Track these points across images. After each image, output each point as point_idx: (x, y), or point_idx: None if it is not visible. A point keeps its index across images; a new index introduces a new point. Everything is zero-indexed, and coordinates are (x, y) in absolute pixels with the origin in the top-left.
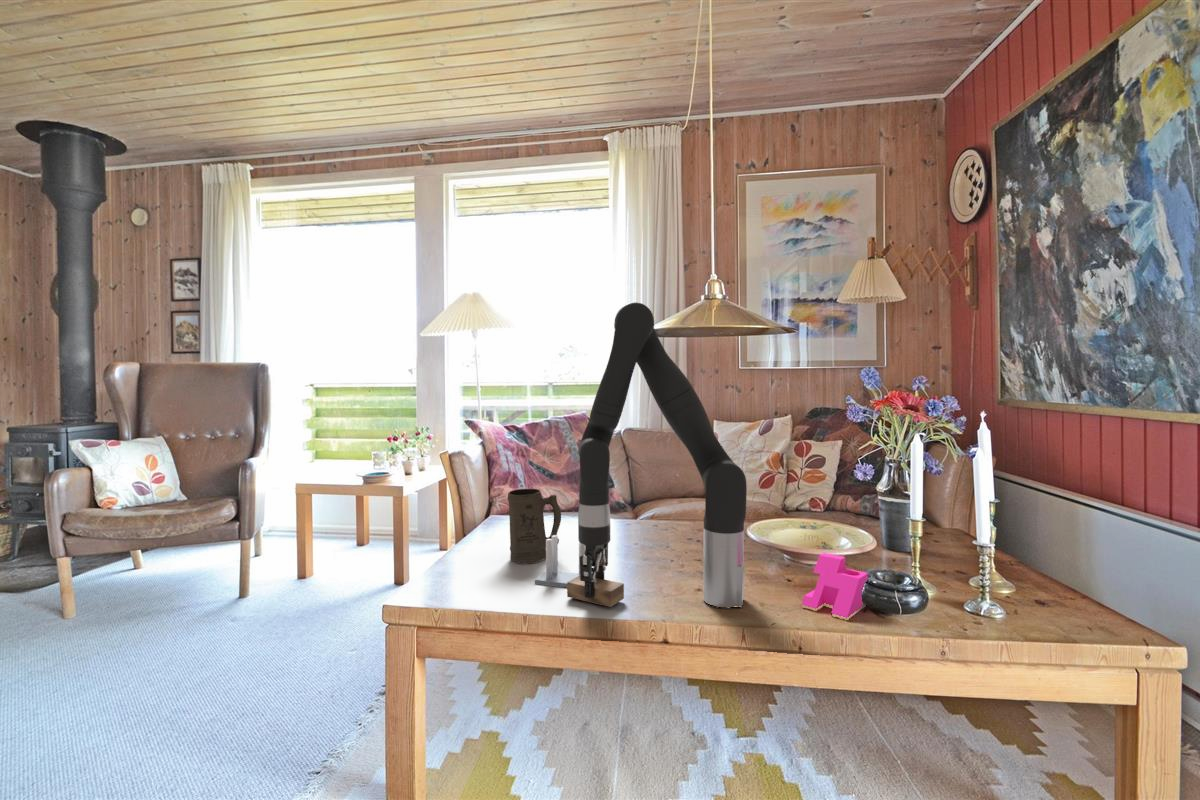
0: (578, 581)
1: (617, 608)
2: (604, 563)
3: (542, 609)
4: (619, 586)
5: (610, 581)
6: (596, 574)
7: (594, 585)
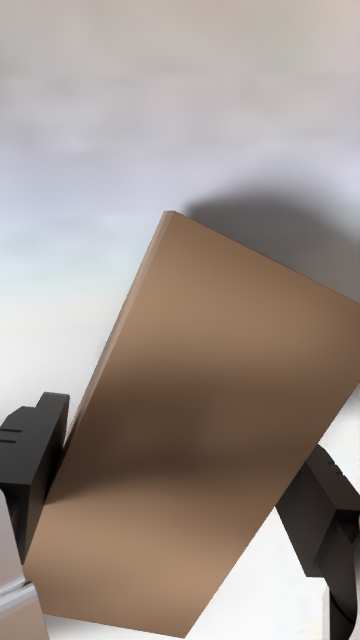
0: (160, 586)
1: (277, 246)
2: (41, 612)
3: (295, 579)
4: (256, 253)
5: (128, 361)
6: (33, 521)
7: (319, 478)
